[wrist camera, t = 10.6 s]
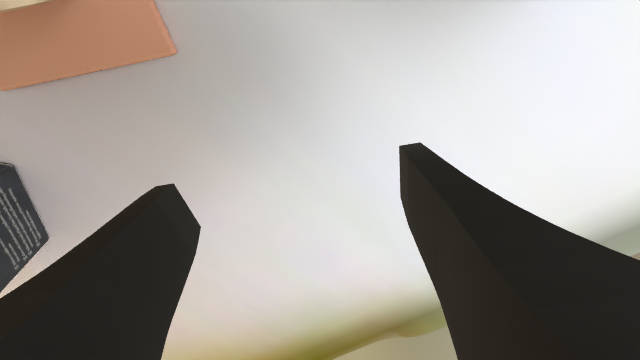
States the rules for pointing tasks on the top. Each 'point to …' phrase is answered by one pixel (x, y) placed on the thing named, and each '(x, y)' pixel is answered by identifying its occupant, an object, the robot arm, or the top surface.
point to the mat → (78, 39)
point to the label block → (19, 4)
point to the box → (16, 226)
